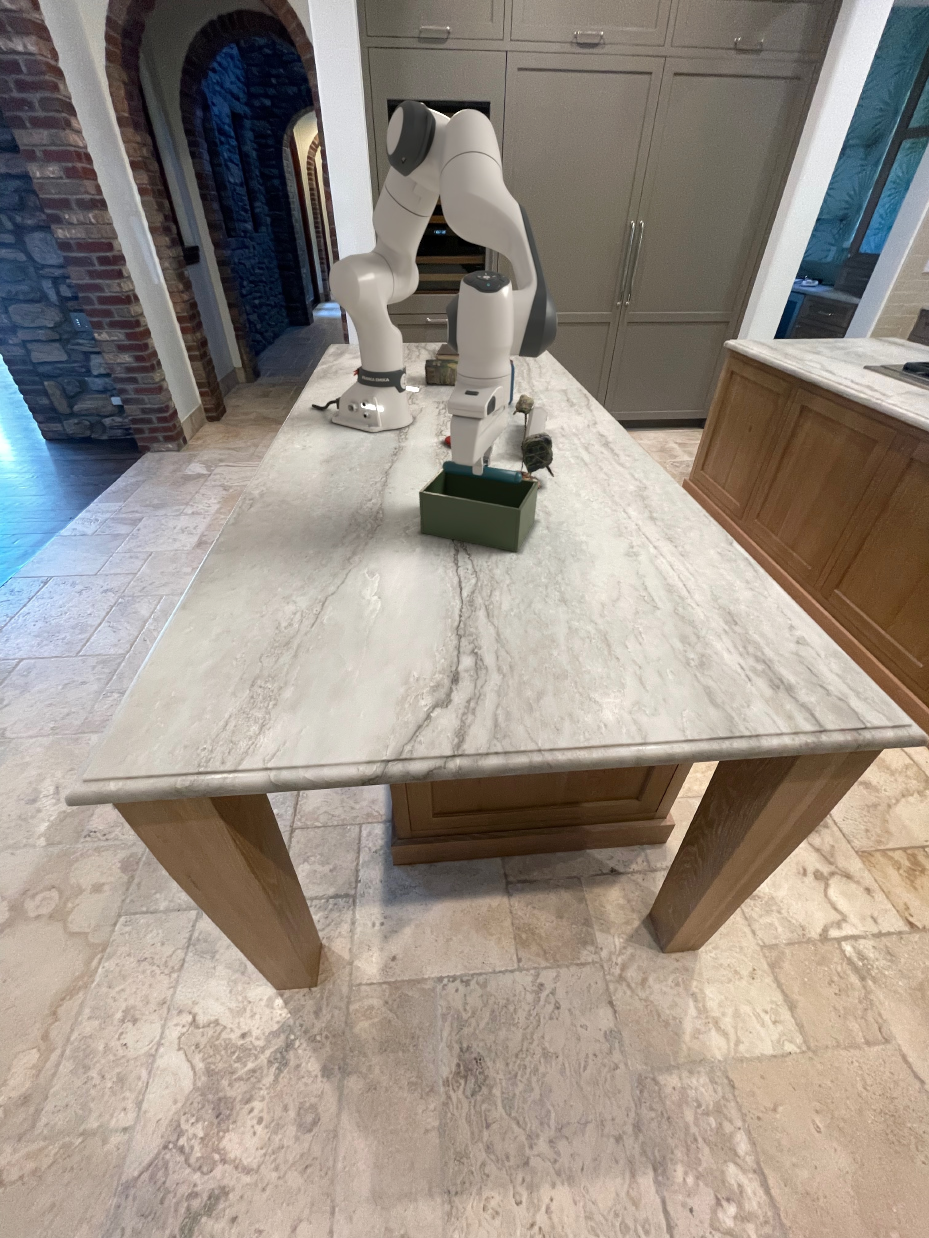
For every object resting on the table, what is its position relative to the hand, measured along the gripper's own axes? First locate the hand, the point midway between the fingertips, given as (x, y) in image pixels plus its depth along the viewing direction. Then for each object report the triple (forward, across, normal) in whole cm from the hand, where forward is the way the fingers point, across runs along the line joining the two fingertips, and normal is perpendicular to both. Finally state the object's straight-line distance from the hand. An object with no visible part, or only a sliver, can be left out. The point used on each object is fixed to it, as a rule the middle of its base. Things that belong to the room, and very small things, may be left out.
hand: (481, 469), depth 97 cm
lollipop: (+12, -34, -17) cm, 40 cm away
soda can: (+12, -72, -18) cm, 75 cm away
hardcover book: (+12, -121, -46) cm, 130 cm away
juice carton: (+12, -88, -39) cm, 97 cm away
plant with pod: (+12, -21, +4) cm, 24 cm away
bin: (+12, 0, 0) cm, 12 cm away
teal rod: (+2, 0, 0) cm, 2 cm away
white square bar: (+12, -46, -1) cm, 47 cm away
